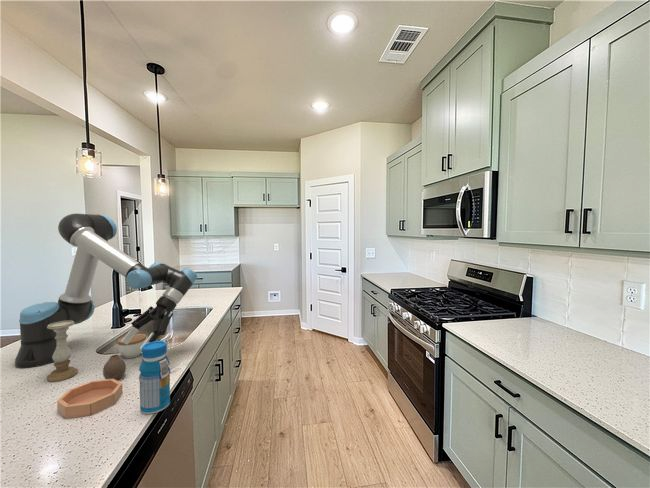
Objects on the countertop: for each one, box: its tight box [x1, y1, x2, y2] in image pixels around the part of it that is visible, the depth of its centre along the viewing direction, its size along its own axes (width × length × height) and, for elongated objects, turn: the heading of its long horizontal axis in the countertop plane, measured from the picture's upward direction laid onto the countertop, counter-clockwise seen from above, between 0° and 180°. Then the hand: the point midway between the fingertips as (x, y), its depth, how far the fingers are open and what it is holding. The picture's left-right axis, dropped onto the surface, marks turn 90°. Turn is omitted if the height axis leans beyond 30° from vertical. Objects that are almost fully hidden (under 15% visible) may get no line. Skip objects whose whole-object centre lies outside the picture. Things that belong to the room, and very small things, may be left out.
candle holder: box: [46, 321, 79, 383], centre depth 107 cm, size 9×9×20 cm
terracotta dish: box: [56, 378, 123, 419], centre depth 91 cm, size 15×15×4 cm
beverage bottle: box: [138, 340, 171, 415], centre depth 89 cm, size 8×8×20 cm
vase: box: [102, 354, 127, 381], centre depth 106 cm, size 7×7×9 cm
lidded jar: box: [116, 333, 147, 359], centre depth 126 cm, size 11×11×9 cm
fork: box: [170, 358, 191, 374], centre depth 110 cm, size 3×20×2 cm, turn 162°
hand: (133, 346), depth 110 cm, fingers open, 13 cm apart
